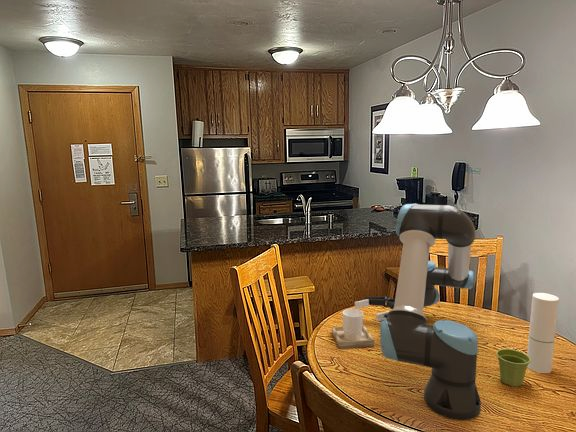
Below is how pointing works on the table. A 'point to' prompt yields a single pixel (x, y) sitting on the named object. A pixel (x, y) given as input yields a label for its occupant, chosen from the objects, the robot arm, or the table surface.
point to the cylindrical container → (542, 332)
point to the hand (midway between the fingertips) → (365, 311)
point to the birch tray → (363, 342)
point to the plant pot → (512, 366)
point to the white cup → (352, 324)
